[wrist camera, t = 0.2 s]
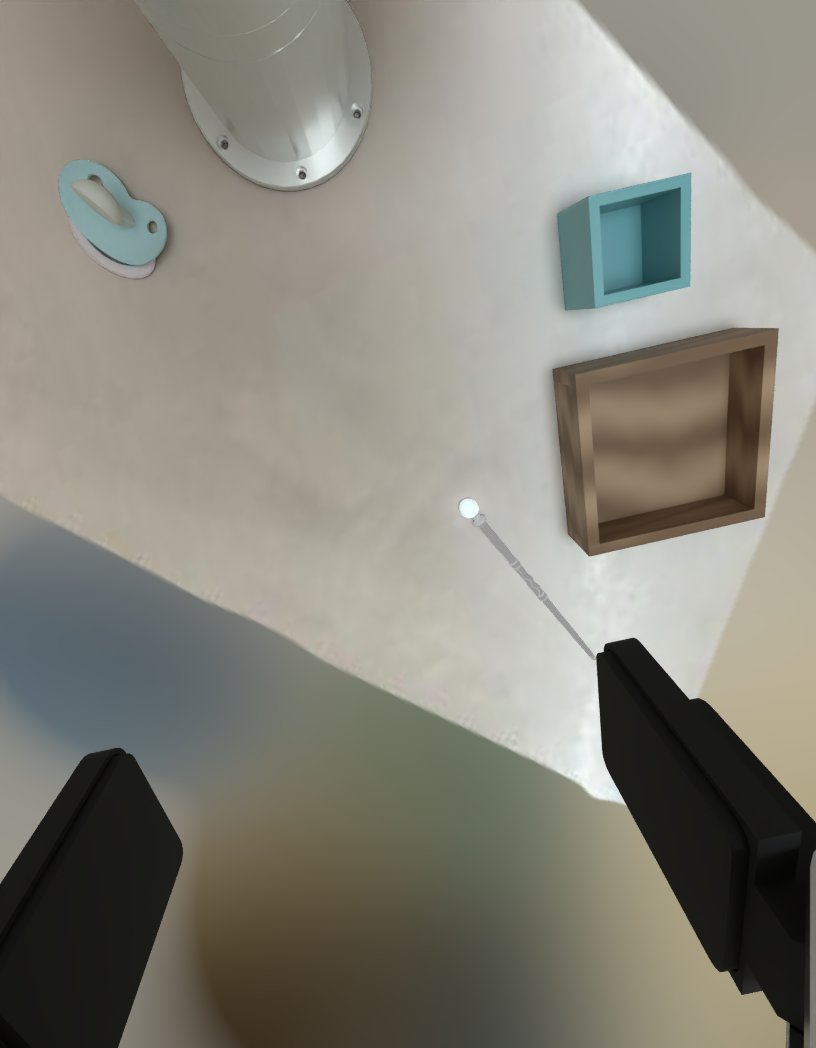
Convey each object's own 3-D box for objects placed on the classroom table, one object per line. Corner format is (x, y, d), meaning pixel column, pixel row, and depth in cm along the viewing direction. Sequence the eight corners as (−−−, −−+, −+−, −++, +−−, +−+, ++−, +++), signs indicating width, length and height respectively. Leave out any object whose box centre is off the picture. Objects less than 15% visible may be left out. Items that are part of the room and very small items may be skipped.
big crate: (552, 369, 43) (575, 374, 38) (734, 327, 43) (778, 328, 38) (568, 534, 49) (589, 556, 45) (727, 498, 49) (764, 516, 44)
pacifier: (148, 298, 39) (186, 229, 37) (108, 296, 33) (151, 215, 32) (55, 230, 37) (92, 154, 35) (-4, 215, 31) (36, 123, 29)
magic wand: (588, 653, 57) (587, 667, 55) (458, 498, 48) (453, 510, 46) (603, 651, 55) (601, 665, 54) (472, 492, 46) (467, 504, 45)
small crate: (556, 214, 39) (588, 196, 33) (644, 193, 39) (691, 172, 33) (564, 309, 41) (595, 308, 36) (646, 291, 41) (690, 286, 36)
